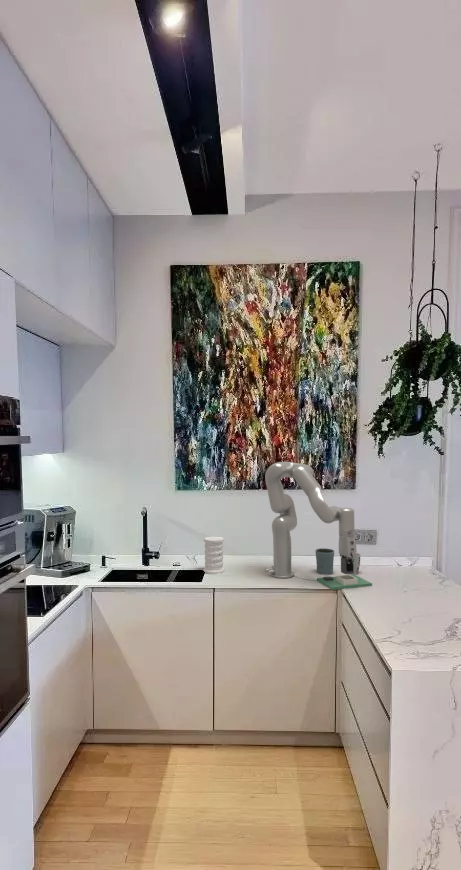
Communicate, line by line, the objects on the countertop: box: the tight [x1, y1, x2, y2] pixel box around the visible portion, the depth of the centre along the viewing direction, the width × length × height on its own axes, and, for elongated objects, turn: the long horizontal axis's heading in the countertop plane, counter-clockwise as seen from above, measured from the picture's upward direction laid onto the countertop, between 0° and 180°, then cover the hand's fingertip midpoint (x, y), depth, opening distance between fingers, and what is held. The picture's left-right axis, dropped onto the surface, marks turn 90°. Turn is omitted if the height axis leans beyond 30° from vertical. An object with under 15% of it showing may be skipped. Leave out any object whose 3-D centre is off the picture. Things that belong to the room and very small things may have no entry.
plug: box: [340, 557, 355, 575], centre depth 236 cm, size 5×4×7 cm
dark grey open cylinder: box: [315, 547, 335, 576], centre depth 258 cm, size 10×10×12 cm
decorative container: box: [202, 535, 226, 575], centre depth 261 cm, size 12×12×18 cm
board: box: [316, 574, 373, 591], centre depth 239 cm, size 22×16×4 cm
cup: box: [350, 552, 361, 575], centre depth 257 cm, size 8×8×10 cm
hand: (347, 569), depth 236 cm, fingers closed on plug, 4 cm apart
